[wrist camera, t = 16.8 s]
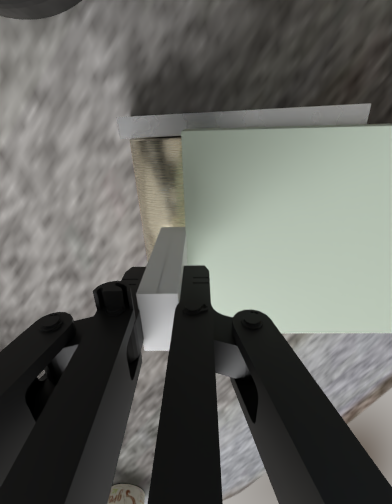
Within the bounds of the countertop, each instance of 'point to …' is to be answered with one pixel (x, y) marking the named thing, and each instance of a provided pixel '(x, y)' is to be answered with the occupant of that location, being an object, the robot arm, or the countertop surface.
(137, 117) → the roller bed
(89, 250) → the countertop surface
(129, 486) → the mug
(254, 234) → the slab
